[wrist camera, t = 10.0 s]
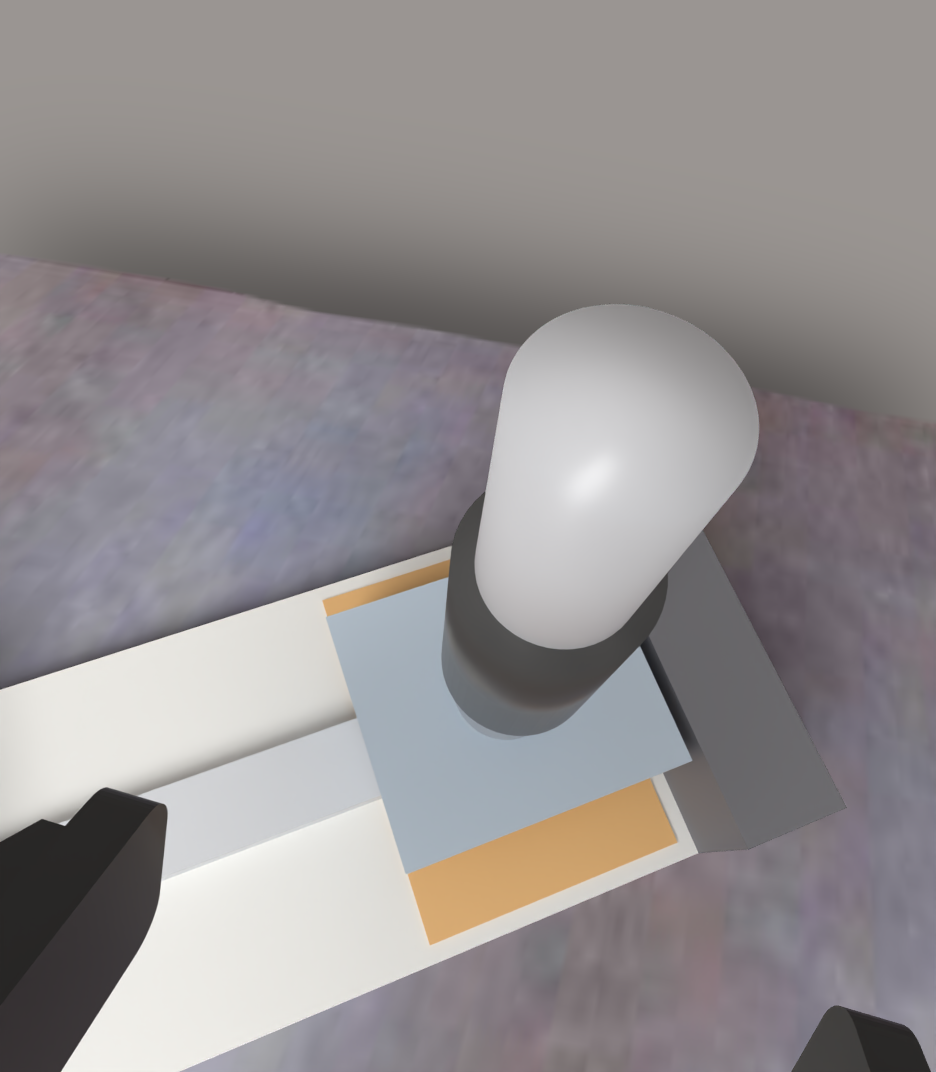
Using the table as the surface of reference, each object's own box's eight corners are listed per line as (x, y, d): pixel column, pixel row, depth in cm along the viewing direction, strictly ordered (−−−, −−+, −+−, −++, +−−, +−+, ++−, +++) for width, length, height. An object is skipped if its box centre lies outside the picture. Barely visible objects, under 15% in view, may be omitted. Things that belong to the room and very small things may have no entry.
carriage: (569, 567, 26) (790, 113, 10) (660, 773, 24) (1127, 582, 8) (336, 645, 25) (189, 253, 9) (407, 873, 22) (375, 877, 7)
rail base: (614, 508, 30) (653, 435, 25) (764, 819, 26) (847, 807, 21) (-180, 764, 25) (-331, 737, 20) (-155, 1205, 21) (-339, 1311, 16)
